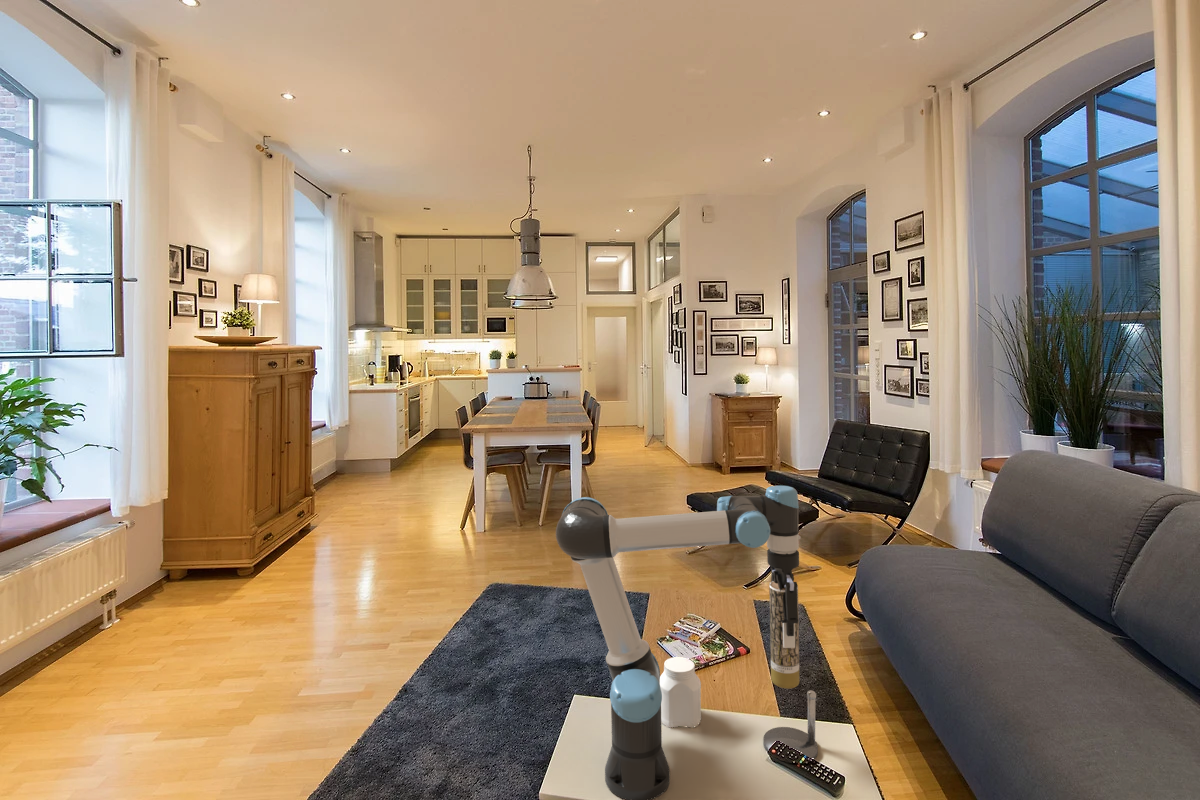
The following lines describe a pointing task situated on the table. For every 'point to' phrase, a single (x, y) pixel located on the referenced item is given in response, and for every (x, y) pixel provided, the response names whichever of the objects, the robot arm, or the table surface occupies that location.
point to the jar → (680, 693)
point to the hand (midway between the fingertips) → (784, 639)
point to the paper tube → (782, 658)
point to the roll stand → (796, 733)
